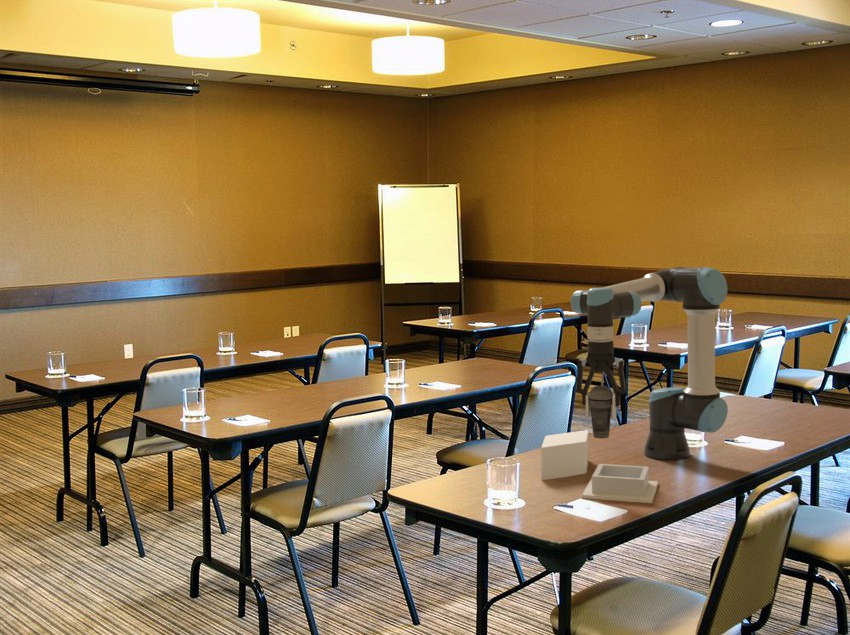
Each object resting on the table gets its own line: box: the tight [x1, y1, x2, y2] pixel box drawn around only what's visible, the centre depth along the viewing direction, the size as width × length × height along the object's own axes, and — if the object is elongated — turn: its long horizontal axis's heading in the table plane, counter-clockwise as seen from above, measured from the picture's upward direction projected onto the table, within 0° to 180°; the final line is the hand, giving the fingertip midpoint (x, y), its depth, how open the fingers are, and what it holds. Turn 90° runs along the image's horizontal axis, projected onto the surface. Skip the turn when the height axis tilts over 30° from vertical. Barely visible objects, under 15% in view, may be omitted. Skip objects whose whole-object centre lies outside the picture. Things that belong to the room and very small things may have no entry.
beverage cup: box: [588, 372, 613, 439], centre depth 278 cm, size 7×7×20 cm
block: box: [540, 429, 589, 481], centre depth 305 cm, size 15×30×11 cm, turn 141°
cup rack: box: [581, 463, 659, 504], centre depth 280 cm, size 20×20×6 cm
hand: (601, 416), depth 278 cm, fingers closed on beverage cup, 7 cm apart
